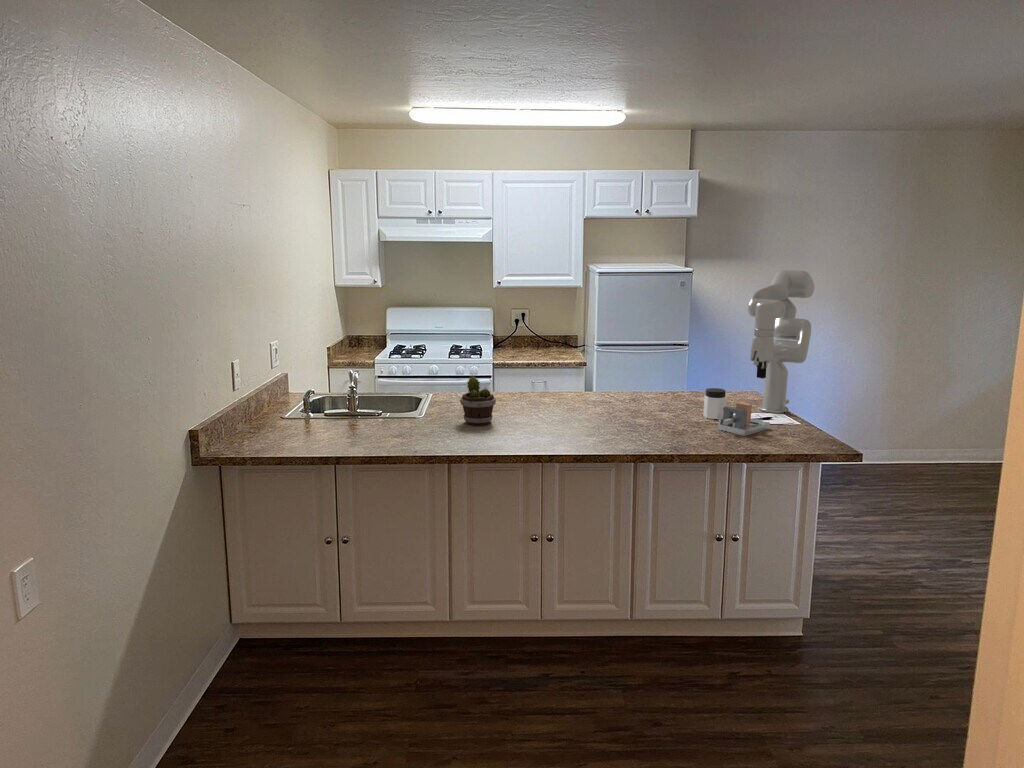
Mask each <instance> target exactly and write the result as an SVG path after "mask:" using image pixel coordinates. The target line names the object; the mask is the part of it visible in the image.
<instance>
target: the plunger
mask: <svg viewBox="0 0 1024 768" xmlns="http://www.w3.org/2000/svg"><path fill="white" fill-rule="evenodd" d="M752 405H753V404H752V403H747V402H743V401H740V402H736V405H735V408H739V409H744V410H746V415H745V425H748V424H750V423H752V424H756V425H758V424H759V423H757V422H752V421H751V419H752V409H753V408H752ZM750 421H751V422H750ZM731 423H735V417H733V418H729V419H725V420H723V424H725V425H728V424H731Z"/></svg>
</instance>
